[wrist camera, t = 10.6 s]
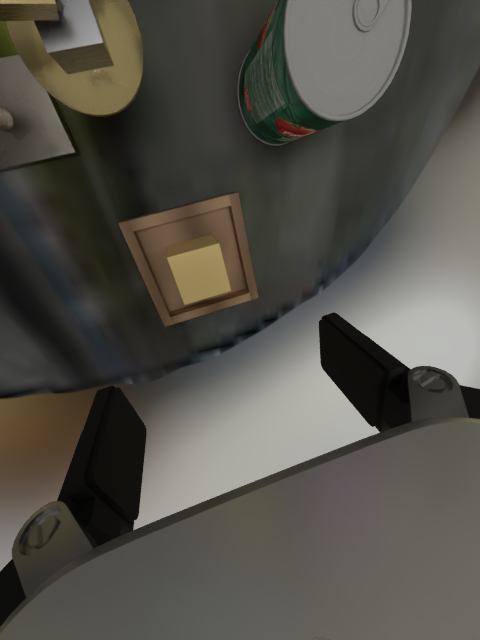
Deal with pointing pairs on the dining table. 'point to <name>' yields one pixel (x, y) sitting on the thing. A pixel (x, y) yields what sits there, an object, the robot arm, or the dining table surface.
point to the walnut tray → (183, 225)
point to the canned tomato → (320, 65)
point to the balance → (64, 72)
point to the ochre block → (198, 268)
